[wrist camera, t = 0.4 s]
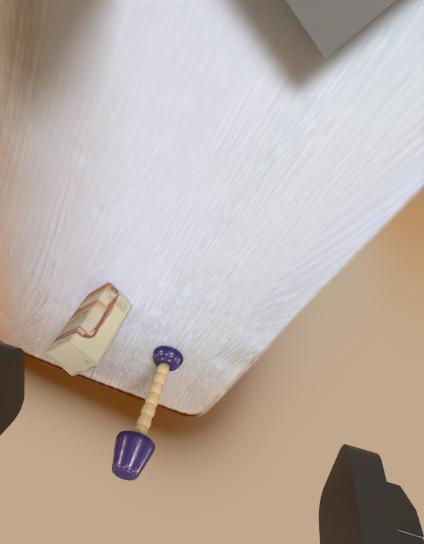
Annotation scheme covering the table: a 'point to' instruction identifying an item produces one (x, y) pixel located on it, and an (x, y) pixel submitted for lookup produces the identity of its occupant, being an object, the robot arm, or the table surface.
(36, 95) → the table surface
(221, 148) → the table surface
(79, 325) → the skincare box
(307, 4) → the socket block
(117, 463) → the toy lamp
